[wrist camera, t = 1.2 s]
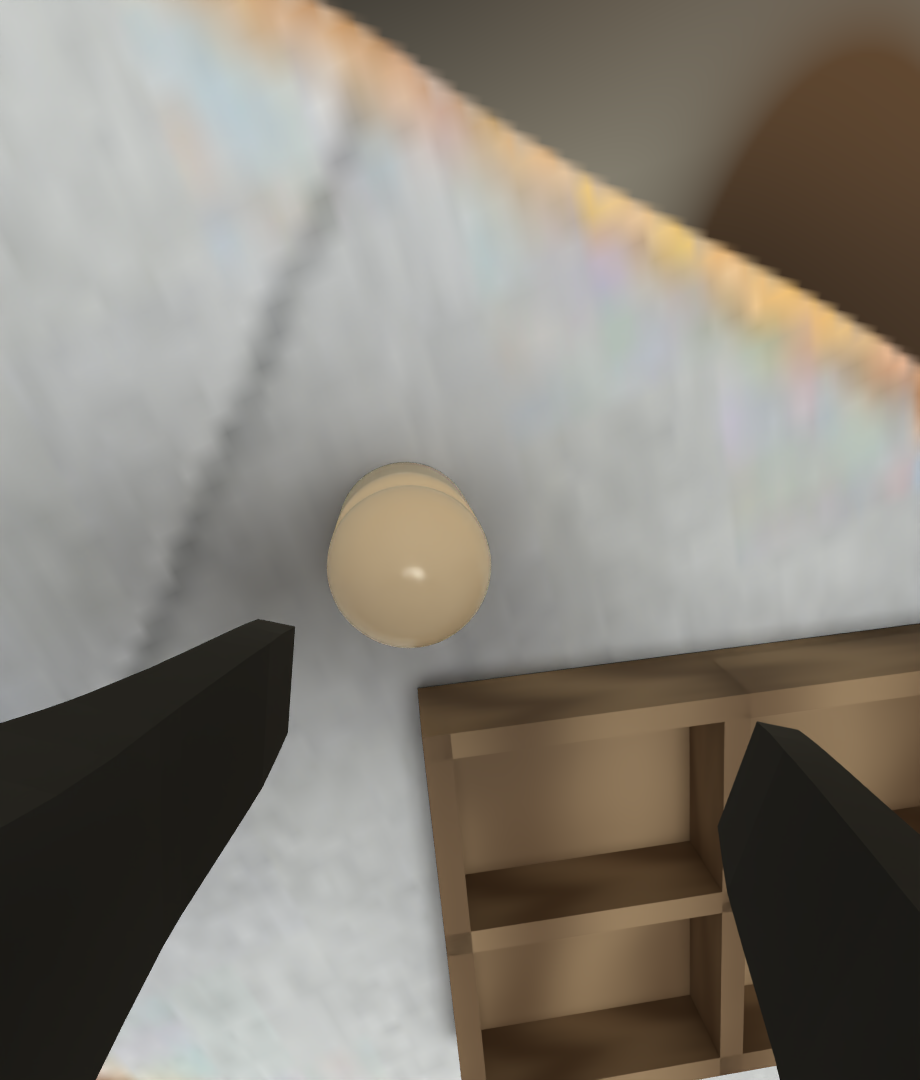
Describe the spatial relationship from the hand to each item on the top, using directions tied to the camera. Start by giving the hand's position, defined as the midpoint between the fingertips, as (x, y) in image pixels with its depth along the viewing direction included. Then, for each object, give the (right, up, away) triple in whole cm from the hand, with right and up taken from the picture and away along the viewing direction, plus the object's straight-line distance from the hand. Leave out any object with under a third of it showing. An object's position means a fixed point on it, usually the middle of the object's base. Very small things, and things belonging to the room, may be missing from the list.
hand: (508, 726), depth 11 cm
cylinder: (-2, +3, +10) cm, 11 cm away
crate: (+8, -8, +14) cm, 18 cm away
